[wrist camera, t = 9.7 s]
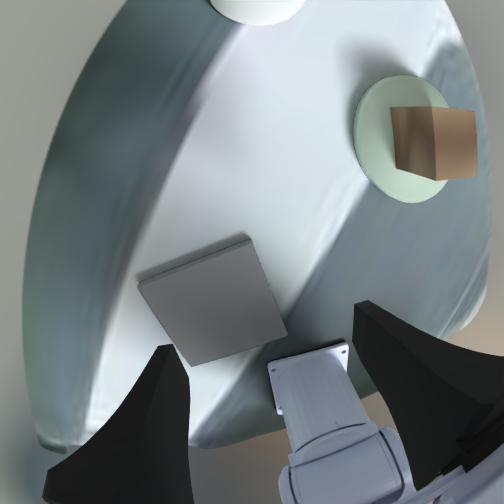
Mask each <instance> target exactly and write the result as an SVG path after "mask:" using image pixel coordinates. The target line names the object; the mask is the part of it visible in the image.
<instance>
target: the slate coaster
mask: <svg viewBox="0 0 504 504" xmlns="http://www.w3.org/2000/svg"><path fill="white" fill-rule="evenodd" d="M137 288H138V290H139V291H140V293H141V294H142V296H143V298H144V299H145V301H146V302H147V304H148V306H149V307H150V309H151V310H152V312H153V313H154V315H155V316H156V318H157V319H158V321H159V322H160V324H161V325H162V327H163V328H164V330H165V331H166V333H167V334H168V336H169V337H170V338H171V340H172V341H173V343H174V344H175V345H176V347H177V348H178V350H179V351H180V352H181V354H182V355H183V356H184V358H185V359H186V361H187V362H188V363H189V365H190V366H191V367H193V366H197V365H200V364H204V363H207V362H210V361H214V360H217V359H220V358H224V357H227V356H230V355H233V354H236V353H239V352H242V351H245V350H248V349H251V348H254V347H257V346H260V345H263V344H266V343H269V342H271V341H274V340H277V339H280V338H282V337H285V336H288V333H287V330H286V328H285V325H284V323H283V320H282V317H281V315H280V312H279V310H278V307H277V304H276V302H275V299H274V297H273V294H272V292H271V289H270V286H269V284H268V281H267V279H266V276H265V273H264V271H263V268H262V266H261V263H260V261H259V258H258V255H257V253H256V250H255V248H254V245H253V243H252V240H251V239H249V240H246V241H243V242H241V243H238V244H236V245H233V246H230V247H228V248H225V249H223V250H220V251H218V252H215V253H212V254H210V255H207V256H205V257H202V258H200V259H197V260H194V261H192V262H189V263H187V264H184V265H182V266H179V267H177V268H174V269H171V270H169V271H166V272H164V273H161V274H159V275H156V276H154V277H151V278H149V279H146V280H144V281H141V282H139V285H138V287H137Z"/></svg>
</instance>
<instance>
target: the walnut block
mask: <svg viewBox="0 0 504 504" xmlns="http://www.w3.org/2000/svg"><path fill="white" fill-rule="evenodd" d="M390 112H391V120H392V128H393V138H394V149H395V163H396V169H399V170H403V171H406V172H409V173H413V174H416V175H419V176H422V177H425V178H428V179H431V180H434V181H442V180H449V179H457V178H465V177H473V176H477V134H476V120H475V111H470V110H462V109H454V108H444V107H433V106H412V107H390Z"/></svg>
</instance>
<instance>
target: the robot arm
mask: <svg viewBox="0 0 504 504" xmlns="http://www.w3.org/2000/svg"><path fill="white" fill-rule="evenodd" d="M352 342H353V344H354V347H355V349H356V351H357V354H358V356H359V358H360V360H361V362H362V364H363V366H364V367H365V369H366V371H367V372H368V374H369V376H370V377H371V379H372V381H373V382H374V384H375V385H376V387H377V389H378V390H379V392H380V394H381V395H382V397H383V399H384V401H385V402H386V404H387V406H388V408H389V411H390V413H391V415H392V418H393V420H394V422H395V425H396V427H397V429H398V433H399V435H400V437H399V435H398V434H397V433H396V432H395V430H393V429H390V428H387V427H382V428H380V429H379V431H378V429H377V427H376V425H375V422H374V421H372V422H370V420H369V417H368V415H367V413H366V411H365V409H364V407H363V405H362V403H361V401H360V399H359V397H358V395H357V393H356V391H355V389H354V387H353V385H352V383H351V381H350V379H349V377H348V375H347V373H346V371H347V361H348V349H349V346H348V344H347V343H345V342H344V343H340V344H337V345H333V346H330V347H326V348H323V349H319V350H316V351H312V352H308V353H304V354H300V355H296V356H292V357H288V358H284V359H280V360H276V361H271V362H269V363H268V371H269V375H270V380H271V385H272V390H273V394H274V399H275V404H276V409H277V413H278V414H280V415H281V414H283V416H284V420H285V424H286V428H287V432H288V436H289V440H290V444H291V448H292V451H293V454H290V455H288V458H289V462H290V465H288V466H285V467H284V468H283V470H282V472H281V474H280V476H279V491H280V496H281V499H282V502H283V504H427V503H428V502H430V501H432V500H434V501H433V504H504V356H495V355H490V354H485V353H480V352H476V351H472V350H469V349H465V348H462V347H459V346H456V345H453V344H450V343H448V342H445V341H443V340H440V339H438V338H436V337H433V336H431V335H429V334H427V333H425V332H423V331H421V330H419V329H417V328H415V327H413V326H412V325H410V324H408V323H406V322H404V321H403V320H401V319H399V318H397V317H396V316H394V315H392V314H391V313H389V312H387V311H386V310H384V309H382V308H381V307H379V306H377V305H376V304H374V303H372V302H370V301H369V300H366V301H363V302H360V303H356V304H354V321H353V336H352ZM343 350H344V351H343ZM189 415H190V385H189V377H188V375H187V373H186V371H185V369H184V367H183V364H182V362H181V360H180V358H179V356H178V354H177V352H176V350H175V348H174V346H173V344H168V345H161V346H158V347H157V349H156V350H155V352H154V353H153V355H152V357H151V358H150V360H149V362H148V363H147V365H146V367H145V368H144V370H143V372H142V373H141V375H140V376H139V378H138V380H137V381H136V383H135V384H134V386H133V388H132V389H131V391H130V392H129V393H128V395H127V396H126V398H125V399H124V401H123V402H122V403H121V405H120V406H119V408H118V409H117V410H116V411H115V413H114V414H113V415H112V416H111V417H110V419H109V420H108V421H107V422H106V423H105V424H104V425H103V426H102V427H101V428H100V429H99V430H98V431H97V432H96V433H95V434H94V435H93V436H92V437H91V438H90V439H89V440H88V441H87V442H86V443H85V444H84V445H83V446H82V447H80V448H79V449H78V450H77V451H75V452H74V453H73V454H72V455H70V456H69V457H68V458H66V459H65V460H64V461H62V462H60V463H59V464H57V465H56V466H54V467H52V468H51V469H49V470H48V472H47V476H46V481H45V485H44V490H43V495H42V498H43V499H44V500H45V501H46V502H47V503H49V504H194V499H193V493H192V487H191V480H190V471H189V461H188V433H189ZM400 438H401V439H400ZM435 498H436V499H435Z"/></svg>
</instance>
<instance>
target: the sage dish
mask: <svg viewBox="0 0 504 504" xmlns="http://www.w3.org/2000/svg"><path fill="white" fill-rule="evenodd" d="M412 106H433V107H444V108H449V107H448V105H447V103H446V102H445V100H444V99H443V97H442V96H441V95H440V93H439V92H438V91H437V90H436V89H435V88H434V87H433V86H431V85H430V84H429V83H428V82H426V81H424V80H422V79H420V78H418V77H415V76H410V75H397V76H392V77H387V78H384V79H381V80H379V81H377V82H376V83H374V84H373V85H372V86H370V87H369V88H368V90H367V91H366V92H365V93H364V95H363V96H362V98H361V99H360V102H359V104H358V106H357V109H356V113H355V117H354V124H353V138H354V146H355V151H356V155H357V158H358V161H359V163H360V166H361V168H362V170H363V172H364V173H365V175H366V176H367V178H368V179H369V181H370V182H371V183H372V184H373V185H374V186H375V187H376V188H377V189H378V190H380V191H381V192H383V193H384V194H386V195H388V196H391V197H393V198H395V199H397V200H399V201H403V202H407V203H417V202H422V201H425V200H427V199H429V198H431V197H433V196H434V195H435V194H437V193H438V192H439V191H440V190H441V189H442V188H443V186H444V185H445V184H446V182H447V181H448V180H442V181H434V180H431V179H428V178H425V177H422V176H419V175H416V174H413V173H409V172H406V171H403V170H399V169H396V163H395V149H394V138H393V128H392V120H391V112H390V107H412Z"/></svg>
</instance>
